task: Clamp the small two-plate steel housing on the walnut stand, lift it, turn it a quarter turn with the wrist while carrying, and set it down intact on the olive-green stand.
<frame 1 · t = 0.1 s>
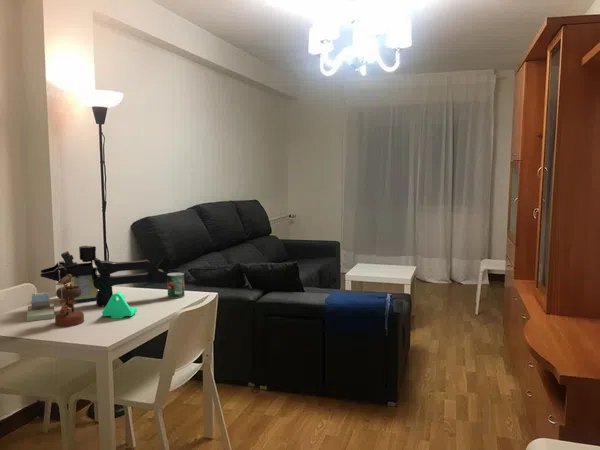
hand: (40, 273, 224), 17 cm above the table, tool horizontal, fingers open, 9 cm apart
housing: (41, 306, 225), point 2 cm above the table, touching walnut stand
brown bird figurine: (70, 322, 209), on the table
canned tomato: (176, 296, 251), on the table
camera mount: (120, 316, 218), on the table
green stand: (40, 317, 216), on the table
walnut stand: (41, 311, 225), on the table
protein box: (84, 298, 248), on the table
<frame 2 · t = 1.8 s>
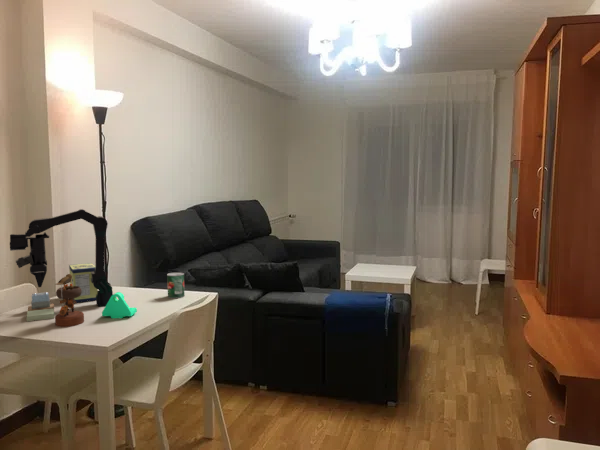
hand: (40, 285, 224), 11 cm above the table, tool pointing down, fingers open, 9 cm apart
nothing on the table moved.
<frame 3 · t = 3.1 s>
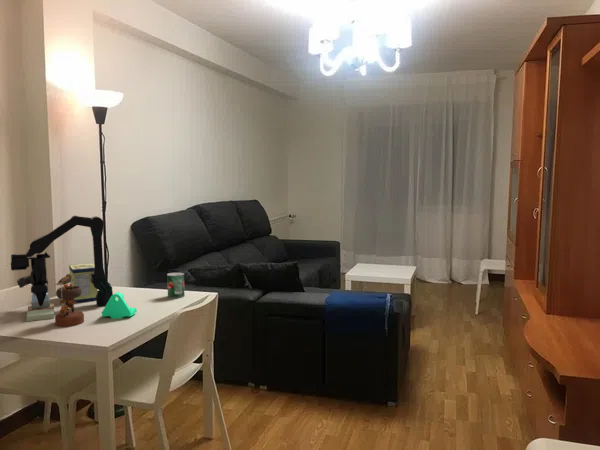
hand: (40, 304, 225), 3 cm above the table, tool pointing down, fingers closed on housing, 5 cm apart
housing: (41, 306, 225), point 2 cm above the table, touching gripper, walnut stand
everything else where it was.
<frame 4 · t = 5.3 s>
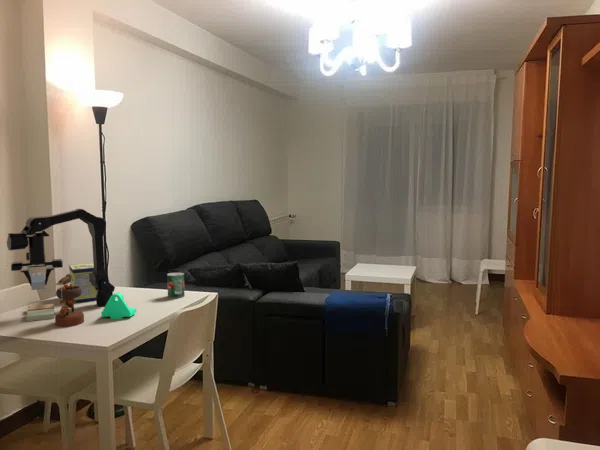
hand: (38, 285, 216), 13 cm above the table, tool pointing down, fingers closed on housing, 5 cm apart
housing: (38, 287, 216), point 12 cm above the table, touching gripper
everything else where it was.
when the fingers open (4 cm above the table, at t = 7.4 s): housing drops 1 cm, resting on green stand.
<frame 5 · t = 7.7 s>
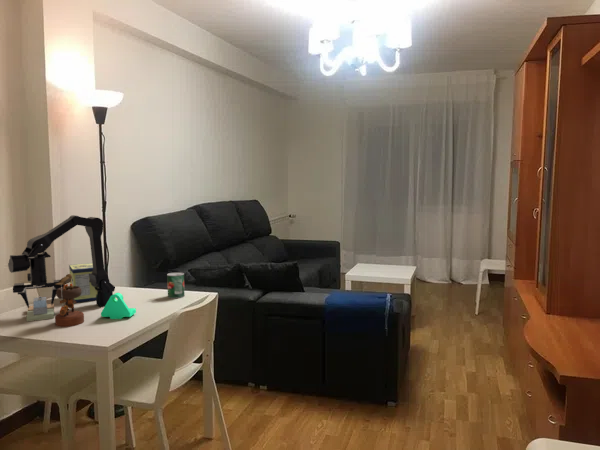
hand: (40, 306, 216), 4 cm above the table, tool pointing down, fingers open, 8 cm apart
housing: (40, 312, 216), point 2 cm above the table, touching green stand
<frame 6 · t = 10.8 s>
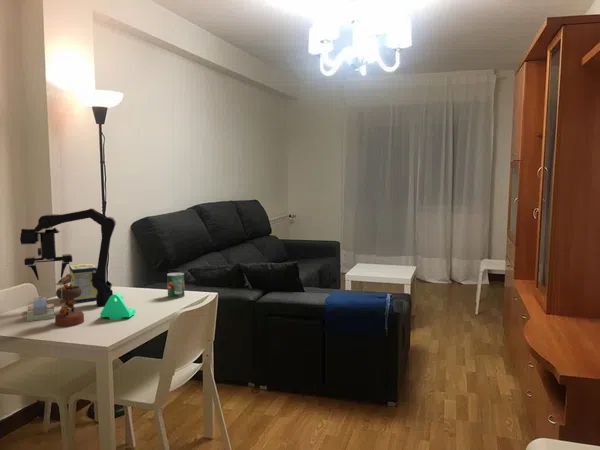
hand: (49, 279, 229), 13 cm above the table, tool pointing down, fingers open, 9 cm apart
at the end: housing inside the target area on the green stand (0.1 cm from its centre), point 2.0 cm above the green stand's base; housing tilted 0°; the gripper is holding nothing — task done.
